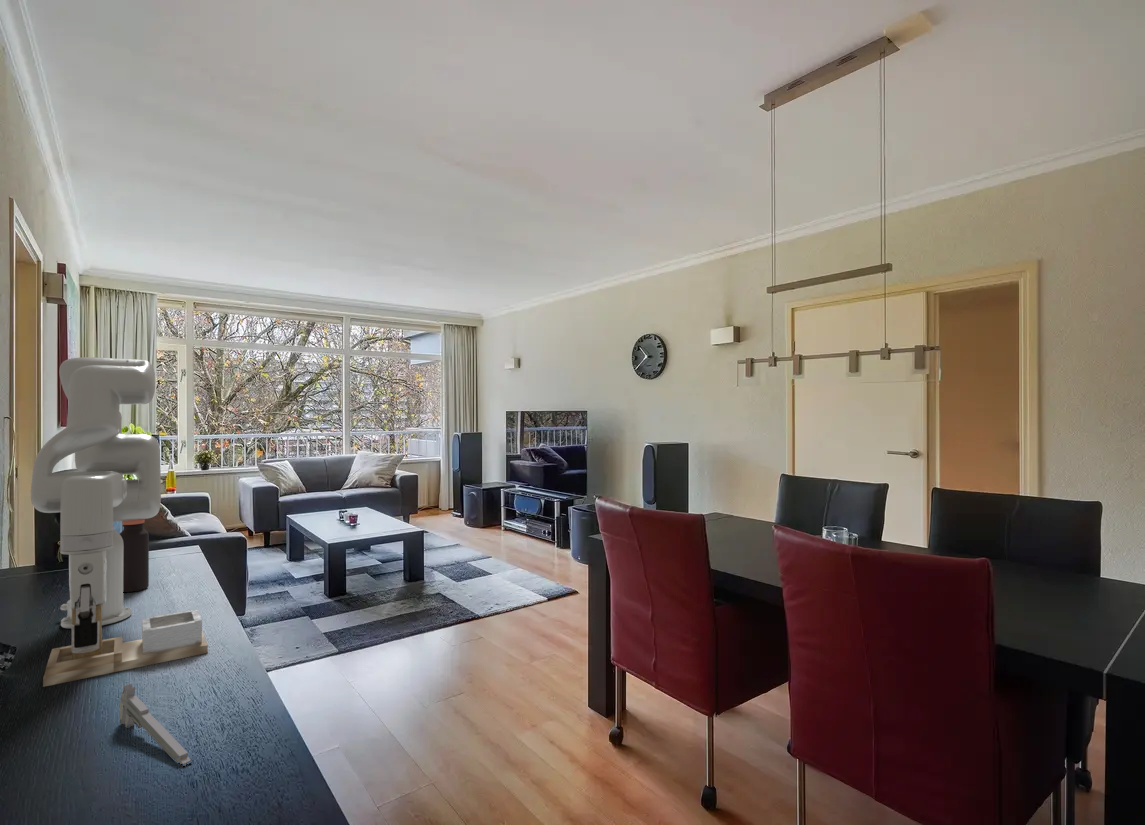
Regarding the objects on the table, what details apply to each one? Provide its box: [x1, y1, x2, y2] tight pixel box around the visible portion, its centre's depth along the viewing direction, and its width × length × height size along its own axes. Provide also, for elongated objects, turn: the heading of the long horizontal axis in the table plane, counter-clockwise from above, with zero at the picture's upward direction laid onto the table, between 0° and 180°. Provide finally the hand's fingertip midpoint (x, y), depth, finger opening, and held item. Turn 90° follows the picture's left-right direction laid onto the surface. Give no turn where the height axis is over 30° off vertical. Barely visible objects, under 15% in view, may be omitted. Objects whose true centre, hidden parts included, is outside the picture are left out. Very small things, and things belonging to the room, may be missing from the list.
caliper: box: [119, 683, 192, 765], centre depth 83 cm, size 20×1×6 cm, turn 57°
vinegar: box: [119, 519, 150, 593], centre depth 160 cm, size 7×7×20 cm
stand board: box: [42, 630, 209, 688], centre depth 113 cm, size 24×12×3 cm, turn 127°
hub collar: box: [141, 609, 203, 655], centre depth 117 cm, size 9×9×4 cm
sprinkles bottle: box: [71, 592, 103, 660], centre depth 109 cm, size 5×5×14 cm
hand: (86, 639), depth 109 cm, fingers open, 5 cm apart
